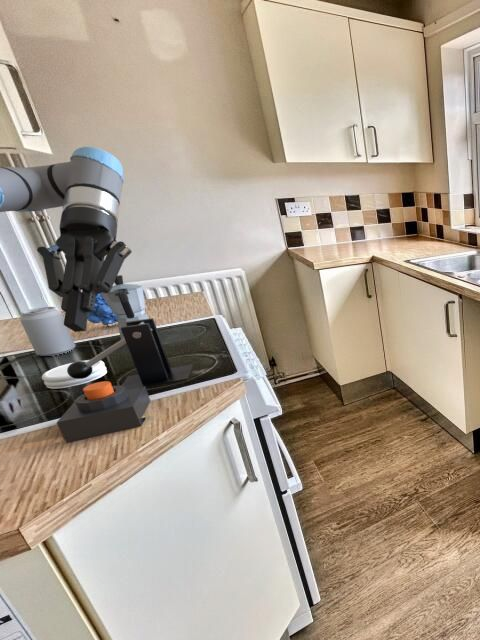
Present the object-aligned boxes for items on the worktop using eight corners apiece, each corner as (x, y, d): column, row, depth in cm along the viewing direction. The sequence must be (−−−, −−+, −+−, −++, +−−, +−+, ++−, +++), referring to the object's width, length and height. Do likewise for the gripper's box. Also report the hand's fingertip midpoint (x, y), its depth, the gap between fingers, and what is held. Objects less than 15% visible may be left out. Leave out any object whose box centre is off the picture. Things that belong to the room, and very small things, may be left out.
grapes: (86, 334, 125) (69, 295, 121) (86, 329, 130) (70, 291, 125) (136, 324, 133) (122, 287, 128) (135, 320, 137) (121, 284, 133)
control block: (66, 443, 71) (51, 412, 69) (85, 419, 78) (72, 390, 76) (141, 426, 75) (129, 397, 73) (152, 405, 83) (141, 377, 81)
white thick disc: (105, 368, 100) (99, 355, 99) (112, 380, 94) (106, 366, 93) (45, 384, 93) (38, 369, 92) (49, 397, 87) (42, 382, 86)
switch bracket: (118, 397, 86) (92, 334, 81) (130, 380, 94) (106, 322, 89) (189, 383, 92) (168, 323, 87) (194, 368, 99) (176, 312, 94)
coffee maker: (119, 335, 123) (95, 275, 117) (157, 328, 128) (136, 270, 122) (119, 349, 113) (93, 283, 106) (160, 340, 118) (138, 277, 111)
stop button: (84, 402, 73) (79, 392, 72) (91, 394, 76) (86, 384, 75) (111, 397, 74) (106, 387, 74) (117, 389, 77) (112, 379, 76)
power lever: (76, 385, 85) (58, 372, 83) (83, 378, 88) (65, 366, 86) (152, 335, 88) (136, 322, 86) (156, 330, 91) (140, 318, 89)
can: (40, 352, 112) (19, 309, 108) (78, 345, 117) (60, 303, 112) (35, 360, 107) (13, 315, 102) (75, 352, 111) (56, 309, 107)
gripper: (143, 229, 85) (134, 332, 76) (62, 233, 81) (43, 342, 73) (120, 202, 78) (107, 312, 70) (31, 206, 75) (6, 322, 66)
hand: (74, 327), depth 71 cm, fingers closed
